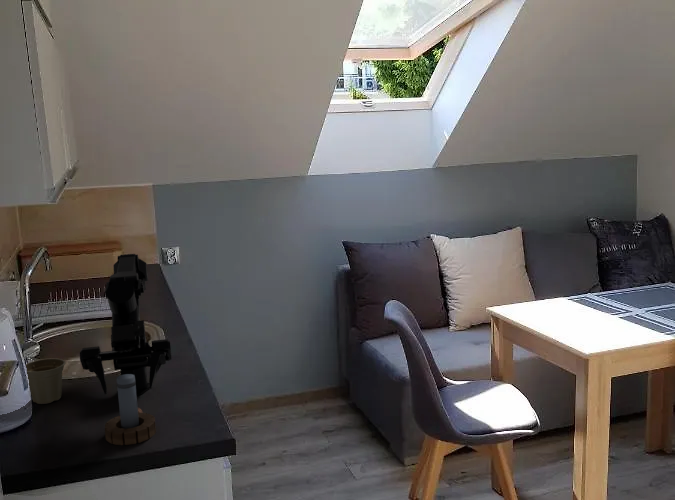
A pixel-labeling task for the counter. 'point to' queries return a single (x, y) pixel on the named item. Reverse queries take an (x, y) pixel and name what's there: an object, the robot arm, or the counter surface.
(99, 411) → the counter surface
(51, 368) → the flower pot
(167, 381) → the counter surface
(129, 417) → the dark grey capped cylinder
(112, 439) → the brown segmented ring
